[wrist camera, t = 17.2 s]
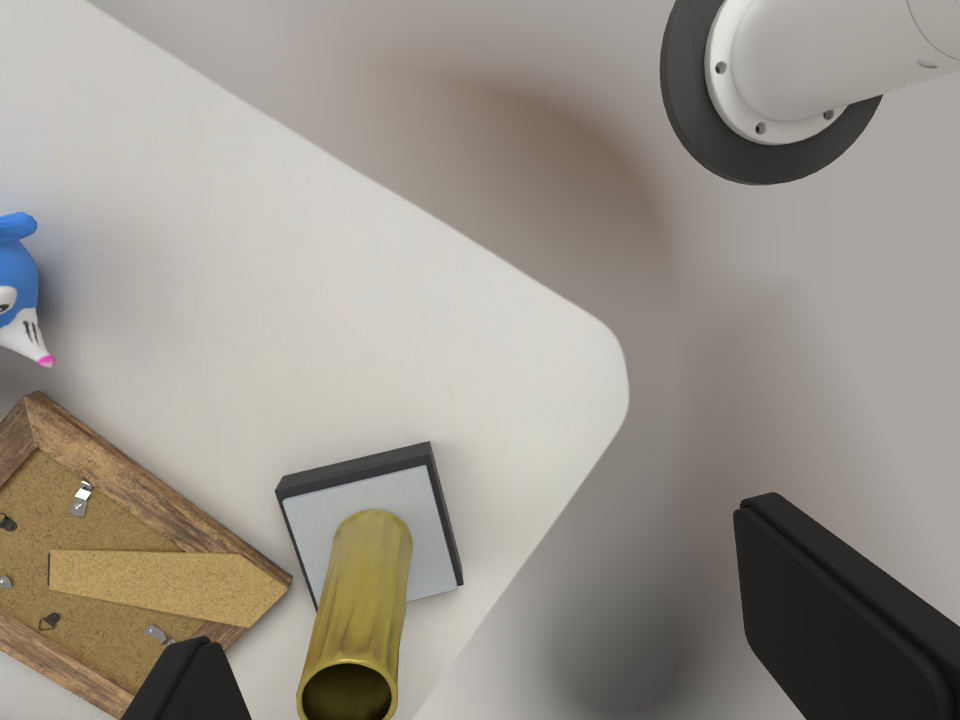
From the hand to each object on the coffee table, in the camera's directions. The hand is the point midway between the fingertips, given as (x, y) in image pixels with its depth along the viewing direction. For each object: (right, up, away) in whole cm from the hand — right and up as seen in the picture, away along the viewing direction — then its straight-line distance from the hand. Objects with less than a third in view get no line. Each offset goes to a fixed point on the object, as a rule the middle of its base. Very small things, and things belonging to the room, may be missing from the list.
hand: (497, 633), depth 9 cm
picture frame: (-31, -12, +33) cm, 47 cm away
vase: (-9, -9, +32) cm, 34 cm away
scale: (-9, -9, +35) cm, 37 cm away
